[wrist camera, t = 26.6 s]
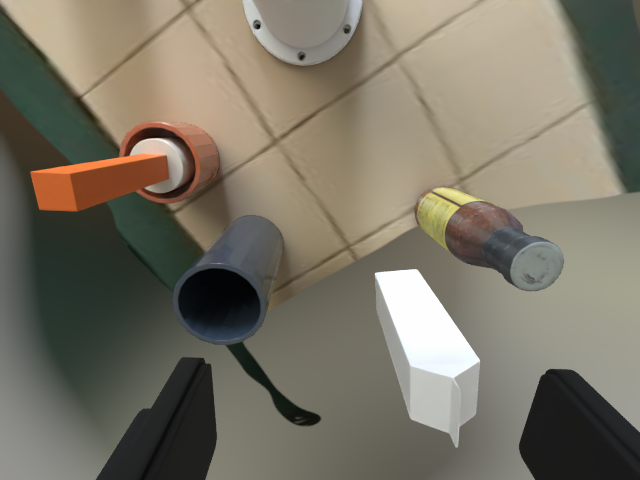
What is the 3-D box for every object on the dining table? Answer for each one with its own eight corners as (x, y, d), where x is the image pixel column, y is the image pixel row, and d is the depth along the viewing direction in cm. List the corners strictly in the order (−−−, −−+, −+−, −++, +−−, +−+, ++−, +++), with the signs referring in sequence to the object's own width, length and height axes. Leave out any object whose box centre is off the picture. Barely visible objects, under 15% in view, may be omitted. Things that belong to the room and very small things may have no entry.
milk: (417, 268, 46) (503, 387, 25) (417, 306, 47) (496, 447, 27) (373, 272, 46) (421, 394, 25) (374, 310, 48) (420, 453, 27)
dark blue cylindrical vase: (221, 213, 43) (167, 261, 28) (284, 216, 43) (265, 265, 28) (224, 271, 45) (177, 343, 30) (283, 273, 46) (266, 346, 30)
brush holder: (148, 121, 39) (113, 120, 32) (217, 124, 39) (196, 123, 33) (156, 189, 42) (125, 201, 35) (221, 192, 42) (203, 204, 35)
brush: (157, 135, 39) (-3, 144, 19) (203, 137, 39) (90, 148, 20) (163, 181, 41) (21, 231, 21) (207, 183, 41) (105, 235, 21)
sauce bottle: (424, 239, 44) (503, 324, 25) (404, 200, 42) (473, 259, 24) (470, 215, 43) (588, 284, 24) (451, 174, 41) (563, 213, 22)
